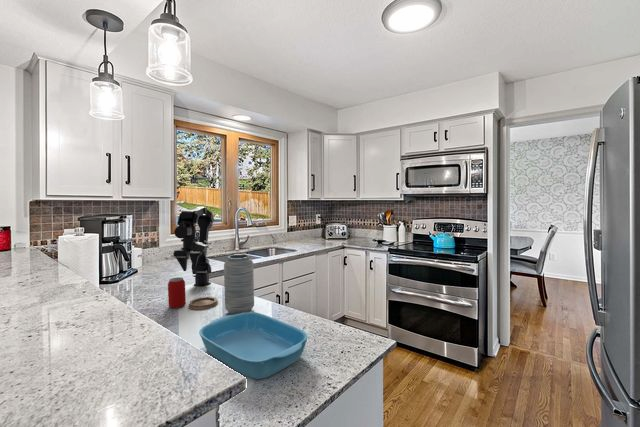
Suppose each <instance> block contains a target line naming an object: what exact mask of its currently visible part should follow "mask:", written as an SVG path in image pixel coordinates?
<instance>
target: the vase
mask: <svg viewBox="0 0 640 427" xmlns="http://www.w3.org/2000/svg"><path fill="white" fill-rule="evenodd" d="M250 257H251V256H250V255H249V254H242V253H241V254H240V253H239V254H238V253H237V254H231V255H228V256H227V259H226V261H225V262H224V264H223V273H224V274H223V276H224V277H223V278H224V280H223V281H224V308H225V311H227V312H228V313H229V315H235V314H240V313H245V312H252V310H253V308H254V306H255V277H254V275H255V274H254V261H253V259H251V258H250Z"/></svg>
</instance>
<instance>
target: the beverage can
mask: <svg viewBox="0 0 640 427" xmlns="http://www.w3.org/2000/svg"><path fill="white" fill-rule="evenodd" d="M167 292H168V293H167V294H168V295H167V296H168V307H169V308H171V309H180V308H183V307H184V306H185V305H186V303H187V302H186V299H187V298H186V281H185V279H184V278H183V277H172V278H170V279H169V281H168V283H167Z"/></svg>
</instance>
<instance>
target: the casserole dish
mask: <svg viewBox="0 0 640 427" xmlns="http://www.w3.org/2000/svg"><path fill="white" fill-rule="evenodd" d="M199 336H200V338H201V340H202V343H203V345H204V348H206V350H207V351H208V353H209V354H211V355H212V356H213V357H215V358H216V359H217V360H219V361H221V362H222V363H224V364H226V365H227V366H228V367H230V368H232V370H234V371H236V372H238V373H240V374H242V375H243V376H246V377H248V378H251V379H255V380H261V379H262V380H263V379H267V378H269V377H271V376H273V375H275V374H277V373H278V372H281V371H282V370H284V369H286V368H287V367H289V366H291V365H292V364H294V363H296V361H298V360H299V359H300V358H301V357H302V355H303V352H304V350H305V347H306V344H307V340H308V334H307V333H306V332H305V331H304V330H303V329H300V328H298V327H296V326H293V325H290V324H289V323H287V322H285V321H284V322H283V321H281V320H279V319H277V318H273V317H271V316H268V315H265V314H263V313H260V312H254V311H250V312H245V313H240V314H235V315H231V314H229V315H224V316H222V317H219V318H215V319H213V320H212V321H210V322H209V323H207V324H206V325H204V326H202V327H201V328H200V329H199Z"/></svg>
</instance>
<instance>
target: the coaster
mask: <svg viewBox="0 0 640 427" xmlns="http://www.w3.org/2000/svg"><path fill="white" fill-rule="evenodd" d="M188 303H189V304H188V308H189V309H191V310H193V311H194V310H195V311H197V310H198V311H199V310H200V311H201V310H207V309H212V308H215V307H217V305H218V304H219V301H218V299H217V297H213V296H203V297H197V298H194V299H192V300H190V301H189V302H188ZM211 307H212V308H211Z"/></svg>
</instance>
